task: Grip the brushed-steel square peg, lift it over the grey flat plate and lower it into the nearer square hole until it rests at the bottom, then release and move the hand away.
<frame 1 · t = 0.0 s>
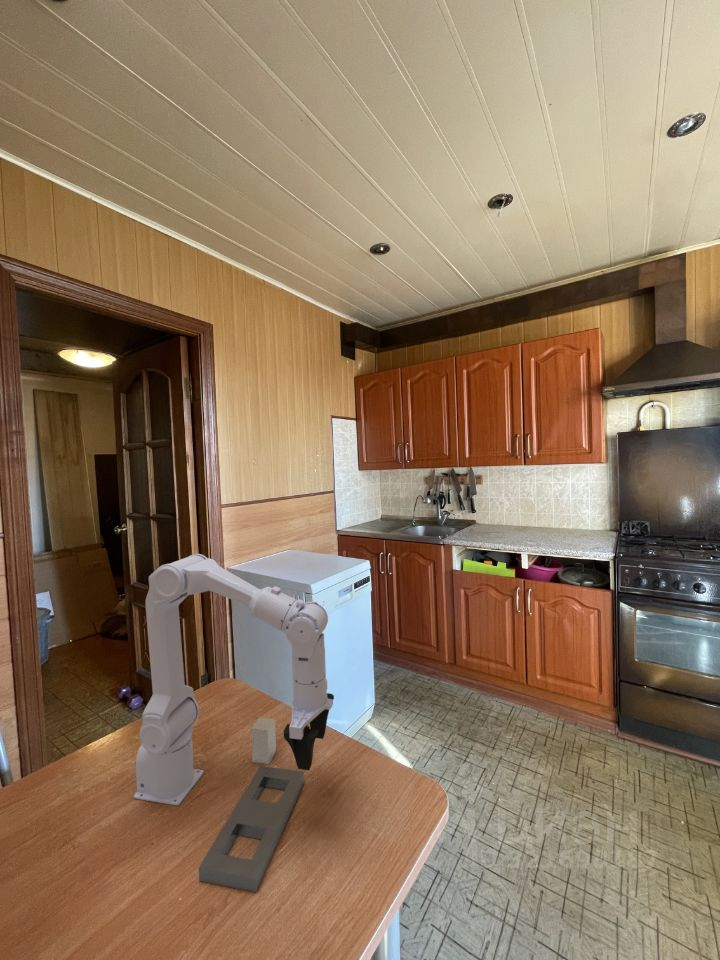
hand: (311, 751, 70), 10 cm above the table, tool pointing down, fingers open, 7 cm apart
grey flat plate: (258, 824, 67), on the table
steel peg: (264, 756, 82), on the table
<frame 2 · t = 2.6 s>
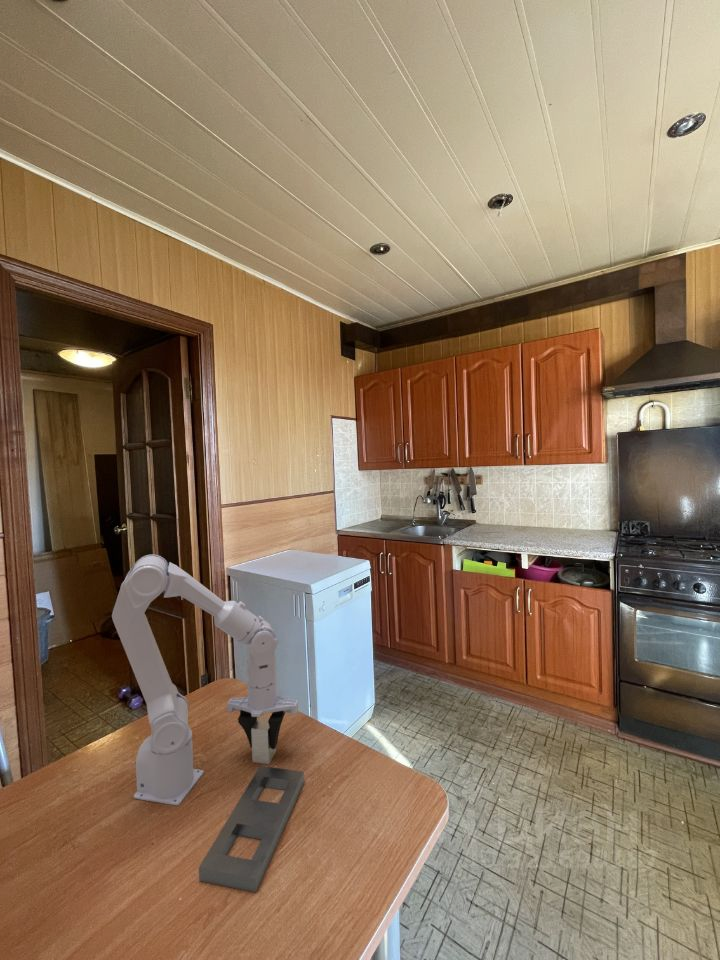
hand: (264, 745, 82), 2 cm above the table, tool pointing down, fingers closed on steel peg, 4 cm apart
steel peg: (264, 756, 82), on the table, touching gripper
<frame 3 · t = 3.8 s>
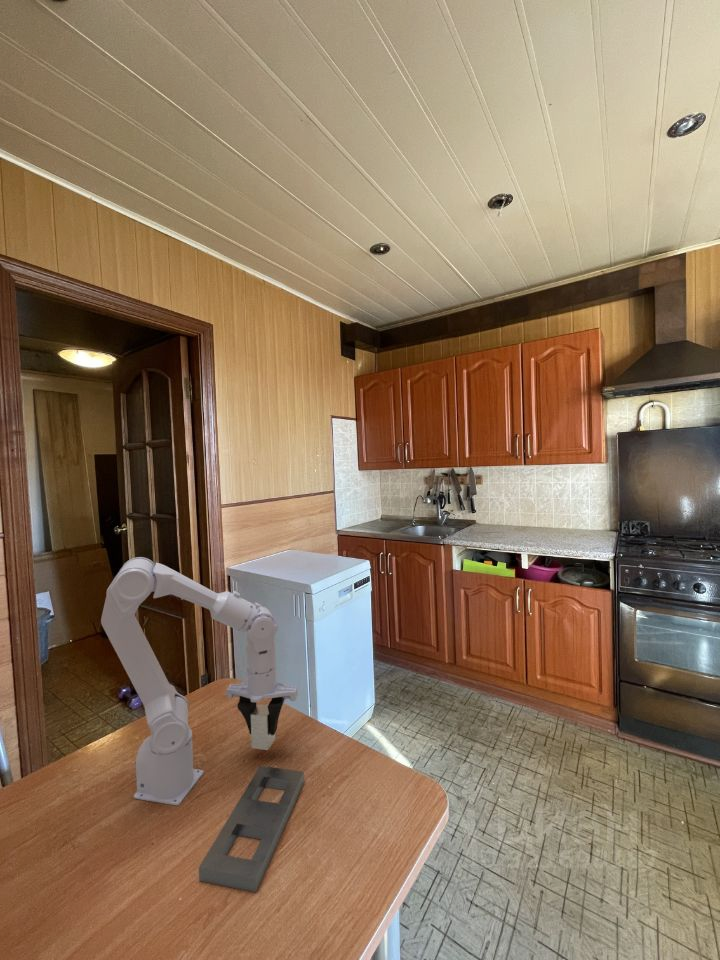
hand: (263, 731, 82), 5 cm above the table, tool pointing down, fingers closed on steel peg, 4 cm apart
steel peg: (263, 743, 82), point 3 cm above the table, touching gripper
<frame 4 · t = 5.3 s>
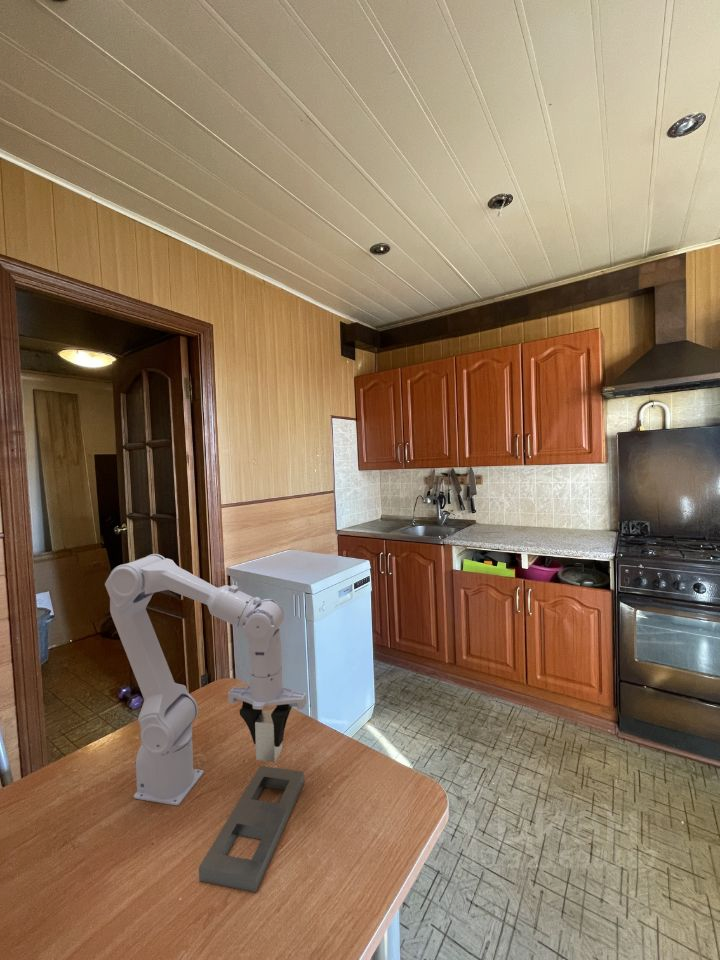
hand: (268, 741, 73), 9 cm above the table, tool pointing down, fingers closed on steel peg, 4 cm apart
steel peg: (269, 754, 73), point 7 cm above the table, touching gripper
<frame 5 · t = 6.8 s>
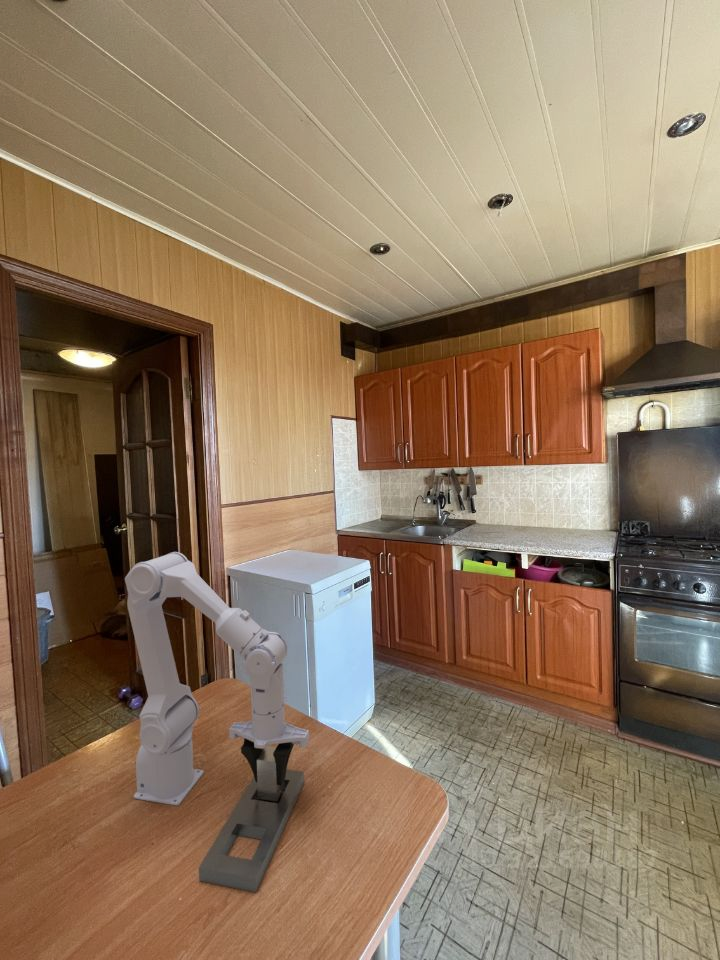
hand: (270, 779, 71), 4 cm above the table, tool pointing down, fingers closed on steel peg, 4 cm apart
steel peg: (271, 791, 72), point 1 cm above the table, touching gripper
when the fingers open (3 cm above the table, at t = 8.0 s): steel peg stays where it is, resting in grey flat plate.
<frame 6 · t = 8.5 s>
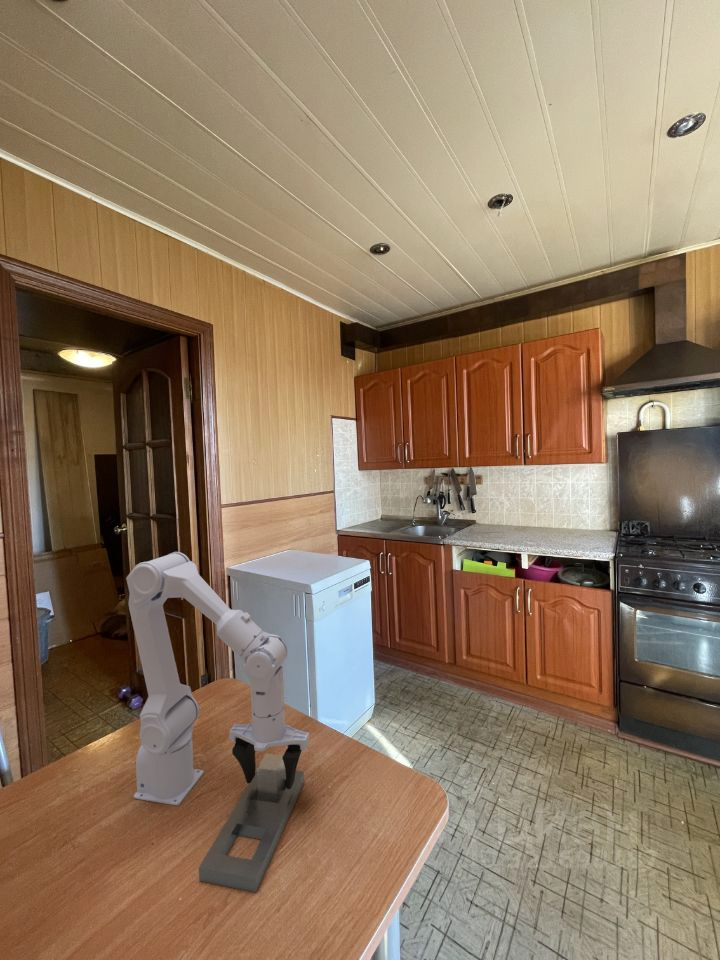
hand: (270, 781, 71), 3 cm above the table, tool pointing down, fingers open, 7 cm apart
steel peg: (272, 799, 72), resting in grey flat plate
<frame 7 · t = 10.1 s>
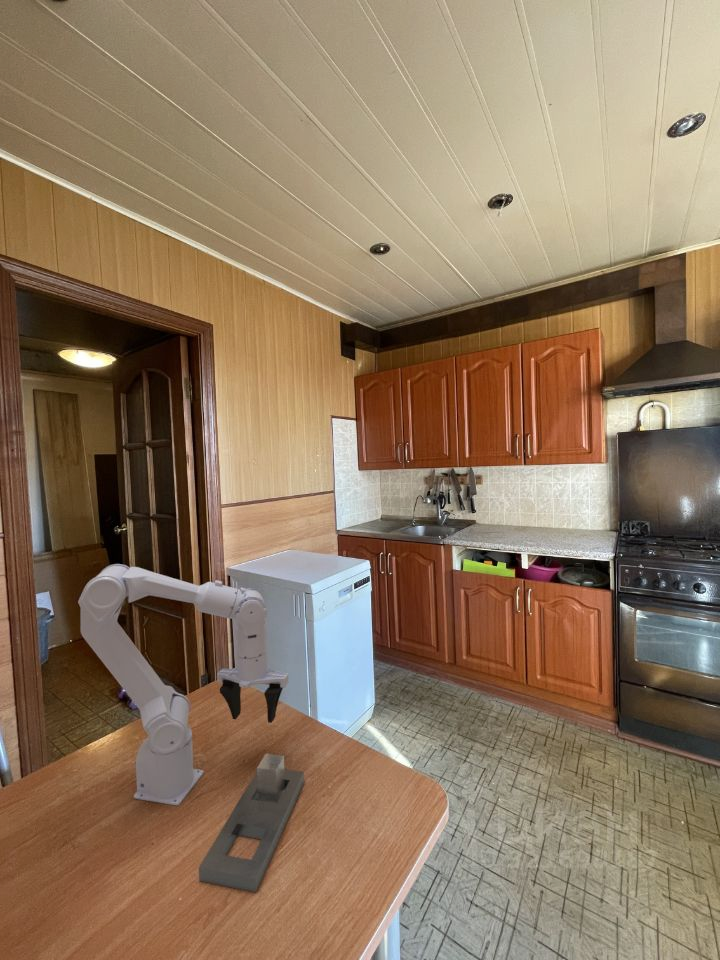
hand: (254, 718, 80), 9 cm above the table, tool pointing down, fingers open, 7 cm apart
nothing on the table moved.
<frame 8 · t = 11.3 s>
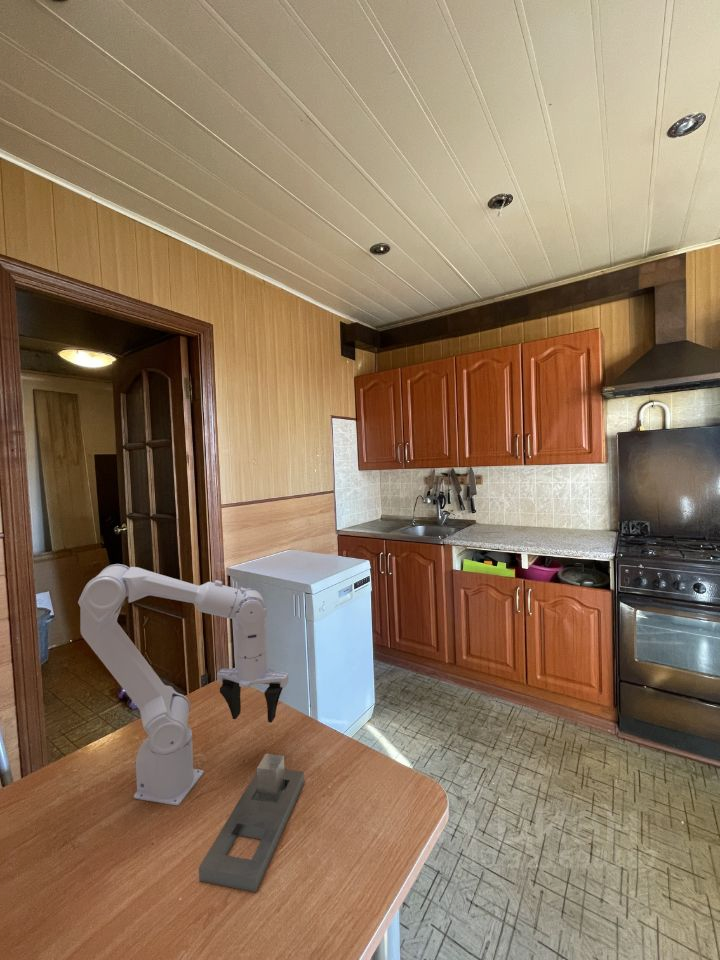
hand: (254, 717, 80), 9 cm above the table, tool pointing down, fingers open, 7 cm apart
nothing on the table moved.
at the end: steel peg 0.2 cm from the target spot on the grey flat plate, point 0.0 cm above the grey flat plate's base; steel peg tilted 0°; the gripper is holding nothing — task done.
